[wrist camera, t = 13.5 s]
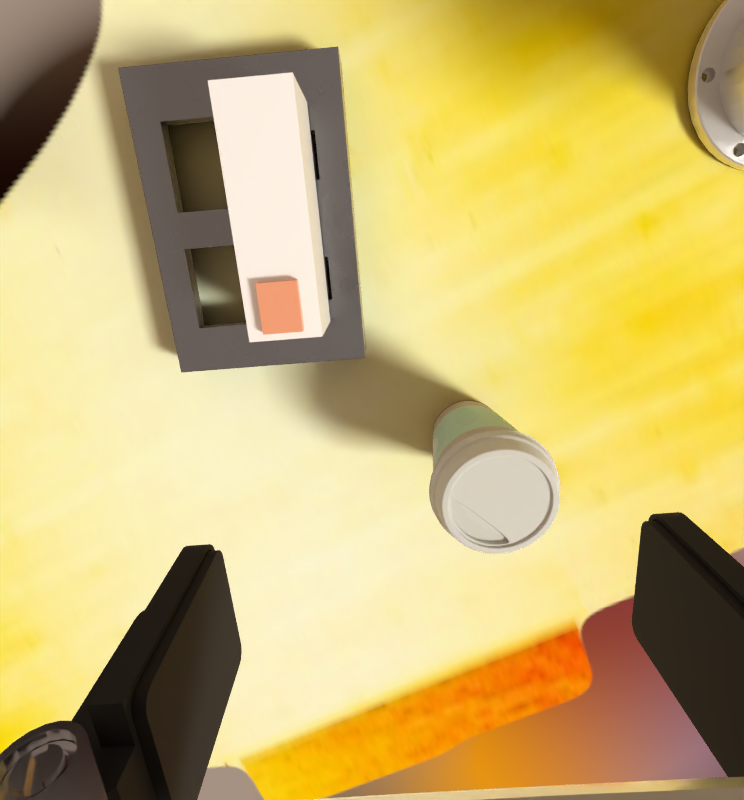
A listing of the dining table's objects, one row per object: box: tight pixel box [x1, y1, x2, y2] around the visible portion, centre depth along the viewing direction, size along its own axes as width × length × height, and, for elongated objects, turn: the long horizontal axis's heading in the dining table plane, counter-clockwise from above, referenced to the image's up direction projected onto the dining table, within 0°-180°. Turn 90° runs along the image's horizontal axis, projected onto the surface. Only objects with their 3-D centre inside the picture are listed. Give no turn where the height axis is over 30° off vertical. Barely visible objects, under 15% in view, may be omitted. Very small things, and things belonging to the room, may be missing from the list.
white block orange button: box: [208, 72, 331, 342], centre depth 32 cm, size 4×14×10 cm, turn 4°
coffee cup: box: [429, 401, 560, 554], centre depth 37 cm, size 8×9×12 cm
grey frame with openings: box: [118, 47, 366, 372], centre depth 36 cm, size 14×20×3 cm
